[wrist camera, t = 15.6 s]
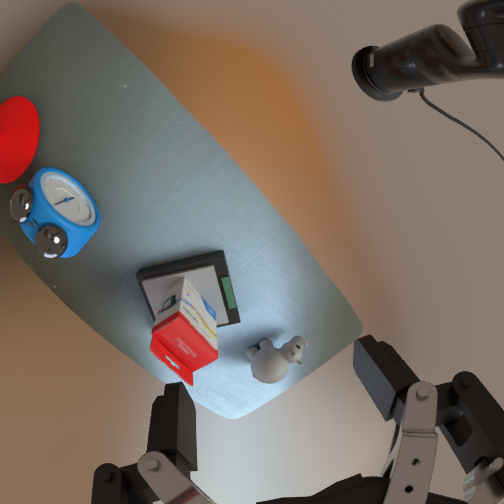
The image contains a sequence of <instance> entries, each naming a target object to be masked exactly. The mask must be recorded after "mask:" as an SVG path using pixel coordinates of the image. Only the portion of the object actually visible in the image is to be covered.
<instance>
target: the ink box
mask: <svg viewBox="0 0 504 504" xmlns="http://www.w3.org/2000/svg"><path fill="white" fill-rule="evenodd" d="M151 334H152V340H151V344H150V351H151V353H153V354H154V355H155V356H156V357H157V358H158V359H159V360H160V361H162V362H163V363H164V364H165V365H166V366H167V367H168V368H169V369H171V370H172V371H173V372H174V373H175V374H176V375H178V376H179V377H180V378H182V379H183V380H184V381H185V382H187V383H188V384H189V385H190V386H193V372H194V371H196V370H198V369H200V368H202V367H204V366H206V365H208V364H210V363H211V362H213V361H215V360H216V359H218V344H217V325H216V312H215V311H214V310H213V309H212V308H211V307H210V305H209V304H208V303H207V302H206V301H205V300H204V299H203V297H202V296H201V295H200V294H199V293H198V292H197V291H196V289H195V288H194V287H193V286H192V285H191V283H190V282H189V281H188V280H187V279H186V278H185V277H184V278H183V279H181V280H180V281H179V282H177V283H176V284H175V285H173V286H172V287H170V288H169V289H168V290H166V291H165V292H164V293H163V295H162V298H161V302H160V305H159V309H158V312H157V316H156V319H155V323H154V326H153V329H152V333H151ZM165 355H166V356H167V357H168V358H169V359H170V360H171V361H173V362H174V363H175V364H176V365H177V366H178V367H179V369H180V370H179V369H178V368H177V367H176V366H173V365H172V364H171V362H170V361H169V360H168V359H167V358H166V357H165Z"/></svg>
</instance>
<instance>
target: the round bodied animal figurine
mask: <svg viewBox="0 0 504 504" xmlns="http://www.w3.org/2000/svg"><path fill="white" fill-rule="evenodd" d="M304 345H305V346H308V343H307V342H306V341H304V339H303V338H302V337H300V336H294V337H293V338H292V339H291V340H290V341H289V342H287V343H285V344H284V345H283V346H282V347H281V349H277V348H273V344H272V341H271V340H270V339H263V340H261V341H260V343H259V346H260V349H261V350H259V349H258V348H257V347H254V346H252V347H249V348H248V349H247V352H246V353H247V356H248V358H249V359H250V360H251V371H252V374H253V377H254V378H256V379H258V380H259V381H261V382H263V383H267V384H272V383H276V382H278V381H280V380H282V379H283V378H284V377H285V375H286V374H287V371H288V367H289V364H290V363H295V362H298V363H299V364H302V362H301V361H300V359H301V356H302V352H301V350H302V348H303V346H304Z"/></svg>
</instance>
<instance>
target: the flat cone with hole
mask: <svg viewBox="0 0 504 504" xmlns="http://www.w3.org/2000/svg"><path fill="white" fill-rule="evenodd" d="M39 136H40V120H39V116H38V112H37V110H36V108H35V106H34V105H33V104H32V103H31V102H30V101H29V100H28V99H27V98H25V97H22V96H16V97H12V98H10V99H8V100H6V101H5V102H4V103H3V104H2V105H0V183H9V182H12V181H14V180H16V179H17V178H18V177H20V176H21V175H22V174H23V173H24V172H25V171H26V169H27V168H28V167H29V166H30V164H31V162H32V160H33V158H34V156H35V153H36V150H37V147H38V142H39Z"/></svg>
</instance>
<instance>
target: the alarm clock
mask: <svg viewBox="0 0 504 504" xmlns="http://www.w3.org/2000/svg"><path fill="white" fill-rule="evenodd" d="M9 210H10V214H11V217H12V218H13V220H14V221H16V222H18V223H20V225H21V227H22V229H23V231H24V232H25V234H26V235H27V237H28V238H29V239H30V240H31V241H32V242H33V243H34V244H35V246H36V249H37V251H38V252H39V253H40V254H41V255H42V256H43V257H45V258H48V259H55V258H58V257H62V258H67V257H72V256H74V255H76V254H77V253H78V252H79V251H80V250H81V248H82V247H83V246H84V245H85V244H86V242H87V241H88V240H89V239H90V238H91V236H92V235H93V234H94V233H95V232H96V231H97V229H98V228H99V225H100V214H99V210H98V208H97V206H96V203H95V202H94V200H93V198H92V197H91V195H90V194H89V193H88V191H87V190H86V189H85V188H84V187H83V186H82V185H81V184H80V183H79V182H78V181H77V180H76V179H74V178H73V177H72V176H70V175H69V174H67V173H66V172H64V171H62V170H59V169H57V168H53V167H45V168H42V169H40V170H38V171H37V172H36V174H35V175H34V177H33V178H32V180H31V181H30V183H29V184H28V186H27V185H23V186H20V187H18V188H17V189H16V190H15V191H14V193H13V194H12V196H11V199H10V203H9Z"/></svg>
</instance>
